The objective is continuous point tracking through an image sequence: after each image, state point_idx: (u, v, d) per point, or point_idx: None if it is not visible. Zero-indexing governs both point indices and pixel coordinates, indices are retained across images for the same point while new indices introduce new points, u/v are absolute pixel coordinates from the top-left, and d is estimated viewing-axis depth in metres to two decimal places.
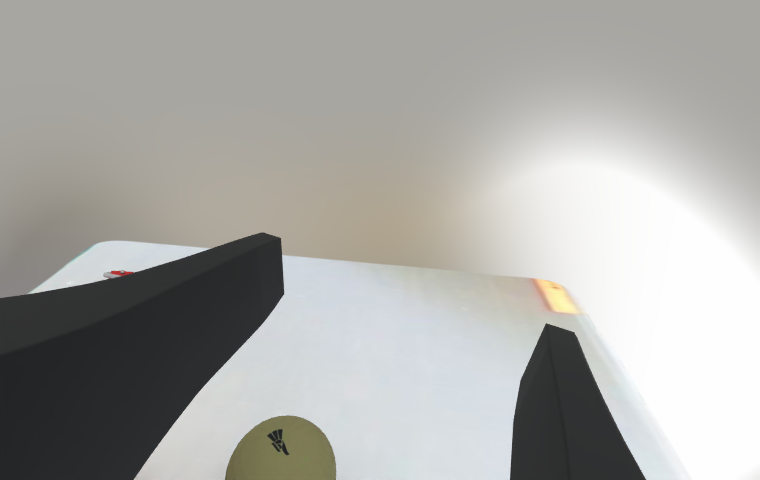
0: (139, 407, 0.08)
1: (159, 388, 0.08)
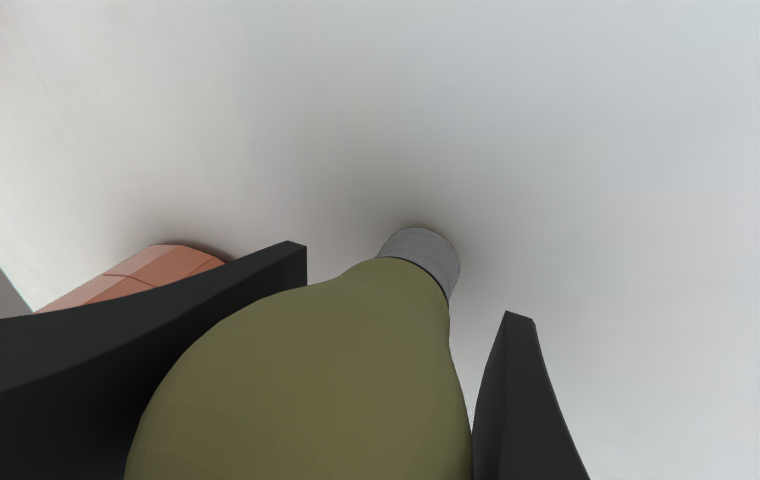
0: None
1: None
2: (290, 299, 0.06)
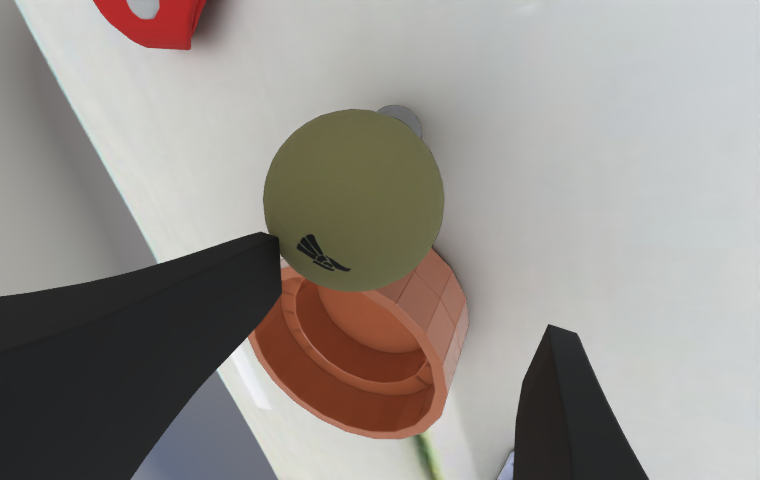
0: (137, 406, 0.08)
1: (157, 387, 0.08)
2: (336, 111, 0.12)
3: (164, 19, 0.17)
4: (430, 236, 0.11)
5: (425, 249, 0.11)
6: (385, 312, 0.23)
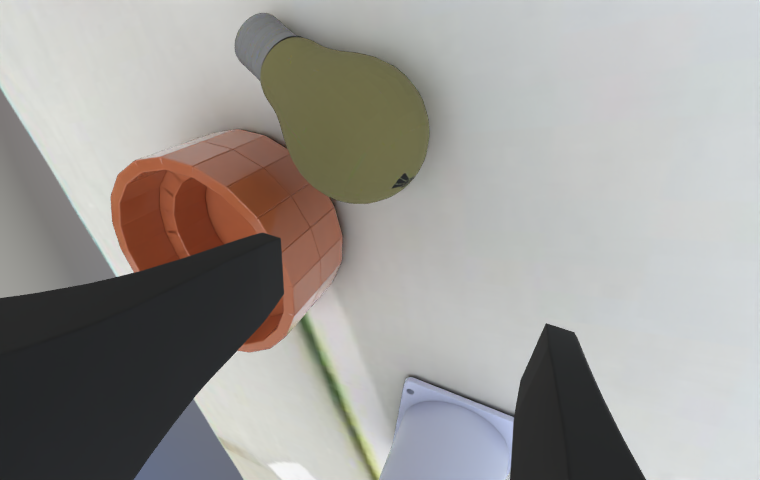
0: (139, 407, 0.08)
1: (159, 388, 0.08)
2: (332, 75, 0.13)
3: None
4: None
5: None
6: None
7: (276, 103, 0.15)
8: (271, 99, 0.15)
